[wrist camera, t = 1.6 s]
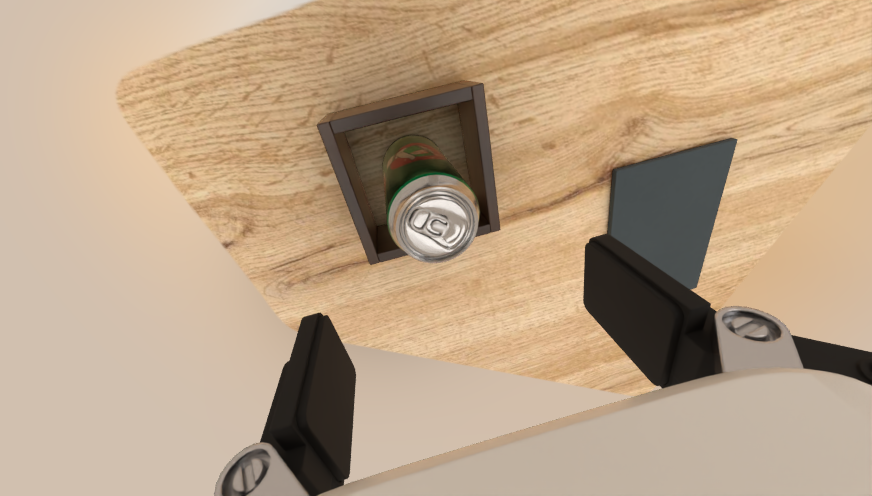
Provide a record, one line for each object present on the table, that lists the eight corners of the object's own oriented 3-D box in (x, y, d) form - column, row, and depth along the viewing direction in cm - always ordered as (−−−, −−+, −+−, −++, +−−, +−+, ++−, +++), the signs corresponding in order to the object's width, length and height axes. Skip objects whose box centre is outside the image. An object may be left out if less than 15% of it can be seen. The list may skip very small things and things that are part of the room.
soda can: (425, 203, 28) (455, 281, 18) (372, 179, 27) (371, 250, 16) (453, 151, 27) (504, 204, 16) (398, 121, 25) (415, 160, 14)
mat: (612, 169, 30) (616, 171, 29) (731, 137, 30) (737, 139, 30) (600, 310, 39) (603, 314, 38) (692, 284, 39) (696, 287, 39)
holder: (326, 114, 24) (316, 124, 19) (464, 80, 24) (483, 82, 20) (370, 236, 29) (370, 265, 25) (482, 206, 29) (500, 230, 25)
